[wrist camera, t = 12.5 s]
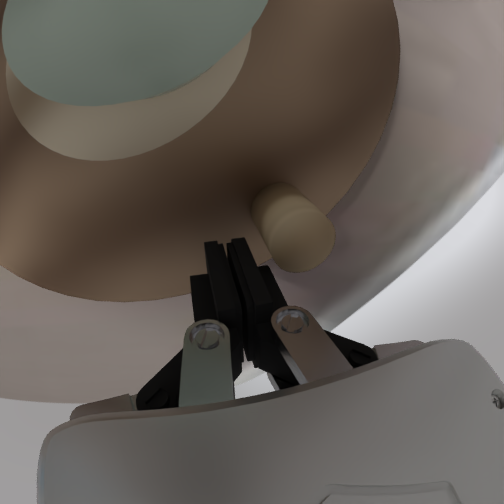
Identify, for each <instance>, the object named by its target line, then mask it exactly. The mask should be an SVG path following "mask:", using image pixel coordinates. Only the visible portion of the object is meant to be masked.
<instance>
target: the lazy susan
mask: <svg viewBox="0 0 504 504" xmlns="http://www.w3.org/2000/svg"><path fill="white" fill-rule="evenodd" d="M7 1H8V0H0V265H1V266H3V267H4V268H6V269H7V270H9V271H10V272H12V273H14V274H15V275H17V276H19V277H21V278H23V279H25V280H27V281H29V282H31V283H33V284H35V285H38V286H40V287H42V288H45V289H48V290H51V291H54V292H58V293H61V294H64V295H68V296H72V297H78V298H84V299H89V300H95V301H112V302H135V301H150V300H159V299H164V298H170V297H175V296H180V295H186V294H189V293H191V285H190V276H193V275H200V274H207V268H206V259H205V249H204V242H209V241H217V242H218V244H221V243H223V246H224V249H225V253H226V256H227V248H226V243H230V242H231V239H234V238H242V237H245V239H246V241H247V244H248V246H249V248H250V251H251V253H252V255H253V257H254V260H255V262H256V264H257V266H259V265H260V264H262V263H264V262H266V261H268V260H269V259H271V258H273V259H274V261H275V263H276V264H277V265H278V266H279V267H280V268H281V269H283V270H285V271H288V272H292V273H300V272H305V271H308V270H311V269H313V268H315V267H317V266H318V265H320V264H321V263H322V262H323V261H324V260H325V259H326V258H327V257H328V256H329V254H330V253H331V251H332V249H333V246H334V243H335V237H336V235H335V229H334V226H333V224H332V222H331V221H330V220H329V219H328V218H327V217H326V215H327V214H328V213H329V212H330V211H331V210H332V208H333V207H334V206H335V205H336V204H337V203H338V202H339V201H340V200H341V198H342V197H343V196H344V195H345V194H346V193H347V192H348V190H349V189H350V188H351V186H352V185H353V183H354V182H355V181H356V179H357V178H358V176H359V175H360V173H361V172H362V170H363V169H364V168H365V166H366V165H367V163H368V161H369V159H370V157H371V155H372V154H373V152H374V150H375V148H376V146H377V144H378V142H379V140H380V138H381V136H382V134H383V131H384V128H385V126H386V123H387V120H388V117H389V115H390V112H391V109H392V105H393V101H394V97H395V92H396V87H397V83H398V76H399V63H400V40H399V28H398V20H397V16H396V11H395V7H394V3H393V0H268V2H267V4H266V6H265V8H264V10H263V12H262V14H261V16H260V17H259V19H258V20H257V21H256V23H255V24H254V25H253V27H252V28H251V30H250V31H249V32H248V33H247V34H246V35H245V36H244V37H243V38H242V40H241V41H240V42H239V43H238V44H237V45H236V46H234V47H233V48H232V49H231V50H230V51H229V52H228V53H227V54H225V55H224V56H223V57H222V58H221V59H220V60H219V61H218V62H217V63H216V64H214V65H213V66H212V67H211V68H210V69H209V70H208V71H207V72H205V73H204V74H203V75H201V76H200V77H199V78H197V79H196V80H194V81H192V82H191V83H189V84H188V85H186V86H184V87H181V88H179V89H177V90H175V91H173V92H170V93H167V94H165V95H161V96H157V97H154V98H149V99H142V100H136V101H130V102H124V103H119V104H113V105H102V106H75V105H68V104H61V103H58V102H55V101H52V100H48V99H46V98H44V97H42V96H40V95H38V94H36V93H34V92H33V91H31V90H30V89H28V88H27V87H26V86H24V85H23V84H22V83H21V81H20V80H19V79H18V78H17V77H16V76H15V74H14V73H13V71H12V70H11V68H10V66H9V64H8V62H7V59H6V56H5V54H4V49H3V43H2V24H3V16H4V12H5V8H6V4H7Z"/></svg>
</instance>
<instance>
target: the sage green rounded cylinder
mask: <svg viewBox="0 0 504 504" xmlns="http://www.w3.org/2000/svg"><path fill="white" fill-rule="evenodd" d="M267 2H268V0H8V1H7V4H6V8H5V12H4V16H3V24H2V43H3V49H4V54H5V56H6V59H7V62H8V64H9V66H10V68H11V70H12V71H13V73H14V74H15V76H16V77H17V78H18V79H19V80H20V81H21V83H22V84H23V85H24V86H26V87H27V88H28V89H30V90H31V91H33V92H34V93H36V94H38V95H40V96H42V97H44V98H46V99H48V100H52V101H55V102H58V103H61V104H68V105H75V106H102V105H113V104H119V103H124V102H130V101H136V100H142V99H149V98H154V97H157V96H161V95H165V94H167V93H170V92H173V91H175V90H177V89H179V88H181V87H184V86H186V85H188V84H189V83H191V82H192V81H194V80H196V79H197V78H199V77H200V76H201V75H203V74H204V73H205V72H207V71H208V70H209V69H210V68H211V67H212V66H213V65H214V64H216V63H217V62H218V61H219V60H220V59H221V58H222V57H223V56H224V55H225V54H227V53H228V52H229V51H230V50H231V49H232V48H233V47H234V46H236V45H237V44H238V43H239V42H240V41H241V40H242V38H243V37H244V36H245V35H246V34H247V33H248V32H249V31H250V30H251V28H252V27H253V25H254V24H255V23H256V21H257V20H258V19H259V17H260V16H261V14H262V12H263V10H264V8H265V6H266V4H267Z"/></svg>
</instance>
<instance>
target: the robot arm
mask: <svg viewBox="0 0 504 504" xmlns="http://www.w3.org/2000/svg"><path fill="white" fill-rule="evenodd" d="M226 248H227V256H226V253H225V249H224V246H223V243H221V244H218V242H217V241H209V242H204V249H205V259H206V268H207V274H200V275H193V276H190V285H191V295H192V304H193V312H194V320H195V323H193V324H192V325H191V326H189V328H188V329H187V330H186V333H185V336H184V345H183V349H182V350H181V351H180V352H179V353H178V354H177V355H176V356H175V357H174V358H173V359H171V360H170V361H169V362H168V363H167V364H166V365H165V366H164V367H163V368H162V369H161V370H160V371H159V372H158V373H157V374H156V375H155V376H154V377H153V378H152V379H151V380H150V381H149V382H148V383H147V384H146V385H145V386H144V387H143V388H142V389H141V390H140V391H139V393H138V394H136V395H132V396H130V395H129V394H125V395H121V396H117V397H113V398H109V399H105V400H101V401H97V402H92V403H88V404H83V405H80V406H78V407H76V408H75V409H74V410H73V411H72V413H71V416H70V421H68V422H65V423H63V424H61V425H59V426H57V427H56V428H54V429H53V430H51V431H50V432H49V434H47V436H46V438H45V439H44V441H43V444H42V447H41V450H40V455H39V461H38V469H37V504H504V384H503V382H502V381H501V380H500V378H499V377H498V375H497V374H496V373H495V371H494V370H493V368H492V367H491V366H490V365H489V364H488V362H487V361H486V360H485V358H484V357H483V356H482V355H481V354H480V353H479V352H478V351H477V350H476V349H475V348H474V347H473V346H472V345H470V344H469V343H467V342H465V341H461V340H455V339H448V340H437V341H430V342H427V343H423V342H421V341H416V340H412V341H406V342H398V343H391V344H383V345H375V346H374V347H373V348H370V347H368V346H366V345H364V344H361V343H358V342H355V341H353V340H350V339H347V338H344V337H341V336H339V335H336V334H334V333H331V332H328V331H326V330H323V329H322V327H321V326H320V325H319V324H318V322H317V321H316V320H315V318H314V317H313V316H312V315H311V314H310V313H309V312H308V311H307V310H305V309H303V308H301V307H297V306H288V305H287V303H286V301H285V299H284V296H283V294H282V292H281V290H280V288H279V286H278V284H277V282H276V280H275V278H274V276H273V274H272V272H271V270H270V268H269V266H267V265H266V266H259V267H257V264H256V262H255V260H254V257H253V255H252V253H251V251H250V248H249V246H248V244H247V241H246V239H245V237H242V238H234V239H231V242H230V243H226ZM243 348H244V351H245V355H246V358H247V361H253V364H254V368H258V367H259V369H261V370H263V371H266V372H267V375H268V378H269V380H270V382H271V384H272V386H273V387H274V389H275V391H273V392H269V393H265V394H260V395H255V396H250V397H245V398H240V399H235V388H234V381H235V380H236V378H237V377H238V376H239V375H240V373H241V372H242V362H244V354H243Z"/></svg>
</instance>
